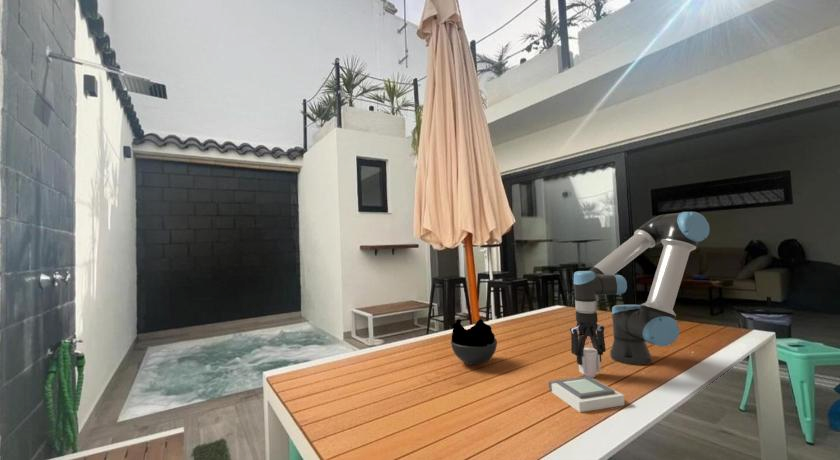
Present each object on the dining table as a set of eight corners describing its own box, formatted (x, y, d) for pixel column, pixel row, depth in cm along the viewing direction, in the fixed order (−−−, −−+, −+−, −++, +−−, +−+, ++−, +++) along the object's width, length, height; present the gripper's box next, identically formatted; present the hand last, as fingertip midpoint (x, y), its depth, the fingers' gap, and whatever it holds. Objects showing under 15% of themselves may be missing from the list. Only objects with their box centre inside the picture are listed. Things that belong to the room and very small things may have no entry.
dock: (589, 384, 122) (588, 373, 122) (624, 405, 106) (623, 392, 106) (549, 390, 118) (548, 378, 118) (579, 412, 103) (579, 398, 103)
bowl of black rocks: (507, 364, 145) (505, 320, 146) (473, 376, 134) (471, 328, 134) (475, 353, 161) (473, 313, 162) (442, 362, 150) (440, 320, 151)
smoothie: (601, 378, 126) (599, 341, 127) (583, 378, 127) (580, 341, 128) (596, 372, 132) (593, 336, 133) (578, 371, 134) (576, 336, 134)
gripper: (600, 307, 136) (603, 365, 135) (558, 311, 132) (561, 371, 132) (614, 311, 129) (618, 372, 128) (570, 315, 125) (574, 378, 124)
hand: (589, 371), depth 130 cm, fingers closed on smoothie, 6 cm apart
